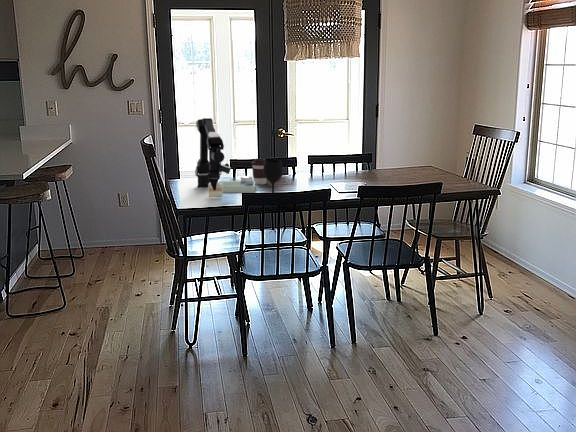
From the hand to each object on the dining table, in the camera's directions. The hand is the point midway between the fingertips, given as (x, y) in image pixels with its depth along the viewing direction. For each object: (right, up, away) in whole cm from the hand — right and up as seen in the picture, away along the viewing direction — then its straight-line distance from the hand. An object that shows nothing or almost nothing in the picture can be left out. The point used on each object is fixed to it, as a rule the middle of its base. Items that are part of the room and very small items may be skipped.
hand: (215, 188), depth 334 cm
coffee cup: (+22, +4, +36) cm, 43 cm away
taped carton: (0, -4, +1) cm, 4 cm away
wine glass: (+31, -5, -3) cm, 32 cm away
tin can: (+16, 0, +17) cm, 23 cm away
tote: (+10, 0, +17) cm, 20 cm away
